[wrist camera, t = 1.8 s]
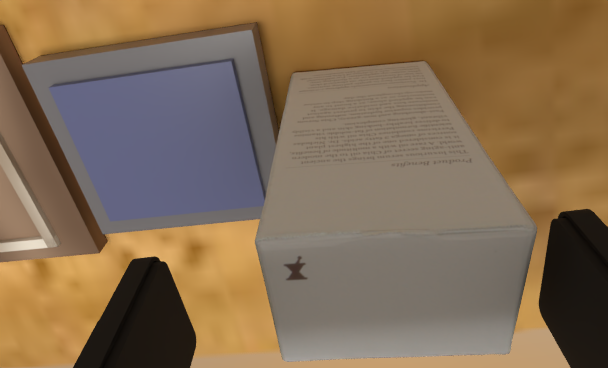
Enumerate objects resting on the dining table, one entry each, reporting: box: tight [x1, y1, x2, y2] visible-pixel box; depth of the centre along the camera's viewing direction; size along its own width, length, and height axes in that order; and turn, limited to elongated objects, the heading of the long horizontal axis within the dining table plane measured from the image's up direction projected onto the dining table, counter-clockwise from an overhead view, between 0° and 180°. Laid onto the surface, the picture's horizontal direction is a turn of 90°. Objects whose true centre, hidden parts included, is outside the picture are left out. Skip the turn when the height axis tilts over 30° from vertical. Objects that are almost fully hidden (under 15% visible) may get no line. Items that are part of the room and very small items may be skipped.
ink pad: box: [22, 22, 279, 234], centre depth 21 cm, size 10×9×2 cm
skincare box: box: [255, 61, 537, 362], centre depth 15 cm, size 6×4×12 cm
